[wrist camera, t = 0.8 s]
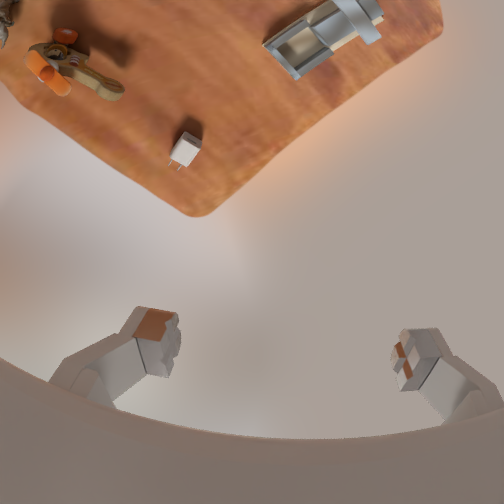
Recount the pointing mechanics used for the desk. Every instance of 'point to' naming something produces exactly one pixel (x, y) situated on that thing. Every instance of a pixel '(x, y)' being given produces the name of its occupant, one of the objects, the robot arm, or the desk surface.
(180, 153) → the usb wall charger
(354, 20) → the jig
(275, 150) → the desk surface
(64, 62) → the toy helicopter
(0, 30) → the rhinoceros figurine
